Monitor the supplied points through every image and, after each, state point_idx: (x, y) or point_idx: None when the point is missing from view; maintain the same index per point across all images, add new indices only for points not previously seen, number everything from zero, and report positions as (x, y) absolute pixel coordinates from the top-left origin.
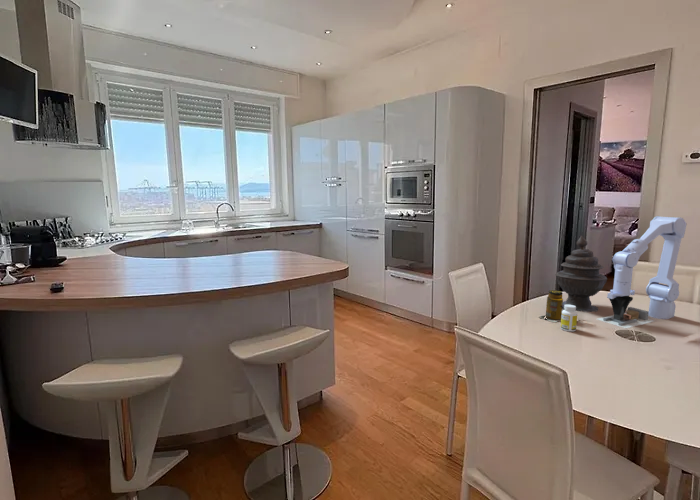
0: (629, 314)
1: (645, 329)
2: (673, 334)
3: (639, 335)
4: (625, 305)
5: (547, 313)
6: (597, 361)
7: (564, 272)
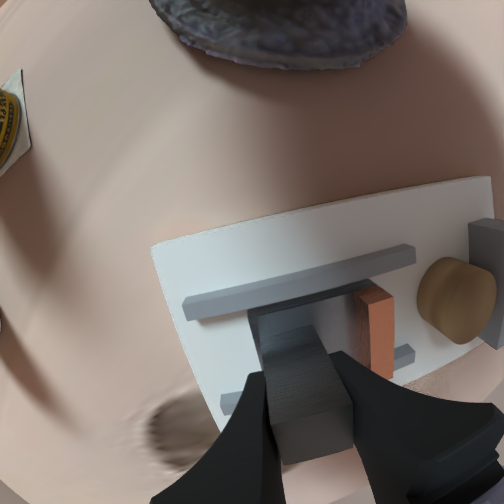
0: (437, 312)
1: None
2: None
3: None
4: (364, 457)
5: None
6: (20, 462)
7: None
